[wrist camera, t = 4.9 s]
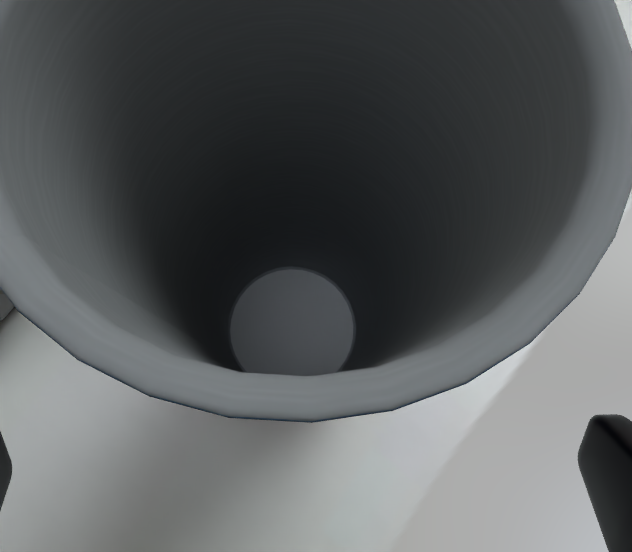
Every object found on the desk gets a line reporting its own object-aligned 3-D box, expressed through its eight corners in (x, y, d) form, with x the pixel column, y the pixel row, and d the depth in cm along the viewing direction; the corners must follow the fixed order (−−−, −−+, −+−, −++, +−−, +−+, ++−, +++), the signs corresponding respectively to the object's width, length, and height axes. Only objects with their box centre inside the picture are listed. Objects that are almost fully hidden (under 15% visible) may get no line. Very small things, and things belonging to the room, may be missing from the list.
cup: (312, 208, 21) (362, -274, 7) (423, 351, 20) (789, 138, 5) (161, 309, 20) (-195, -22, 5) (268, 469, 18) (189, 618, 4)
